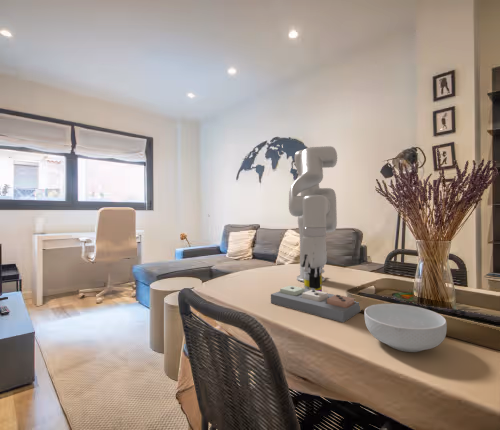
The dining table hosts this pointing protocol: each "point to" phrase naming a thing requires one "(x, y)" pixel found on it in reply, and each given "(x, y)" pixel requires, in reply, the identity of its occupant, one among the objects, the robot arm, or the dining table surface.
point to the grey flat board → (315, 306)
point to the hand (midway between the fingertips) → (314, 287)
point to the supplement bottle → (306, 282)
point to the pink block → (340, 301)
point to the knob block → (292, 290)
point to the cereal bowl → (405, 326)
